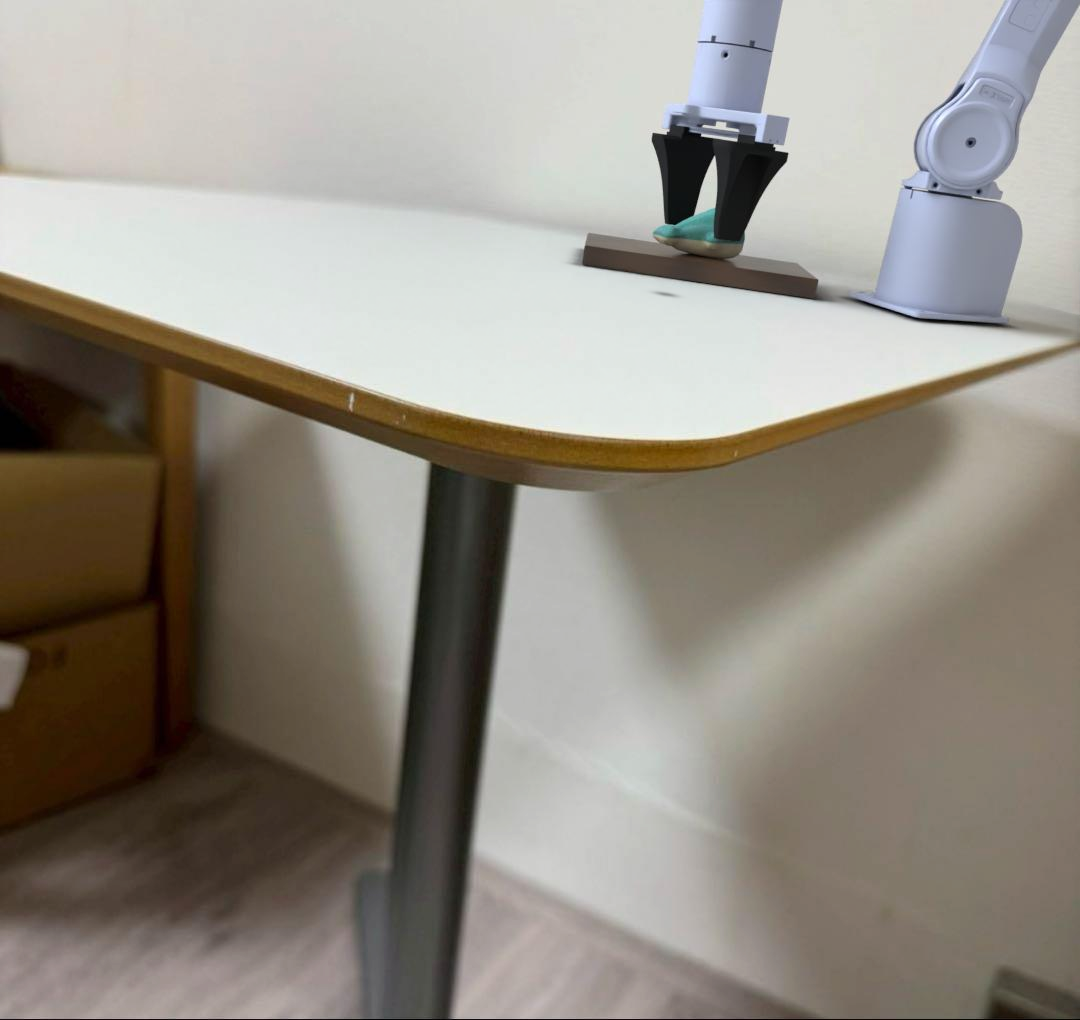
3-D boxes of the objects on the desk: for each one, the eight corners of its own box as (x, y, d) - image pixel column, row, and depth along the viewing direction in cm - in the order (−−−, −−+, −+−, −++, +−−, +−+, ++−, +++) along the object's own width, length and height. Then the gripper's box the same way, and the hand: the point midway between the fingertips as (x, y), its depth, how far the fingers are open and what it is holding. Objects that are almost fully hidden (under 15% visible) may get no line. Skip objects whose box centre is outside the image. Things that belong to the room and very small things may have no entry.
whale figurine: (753, 264, 83) (763, 215, 82) (667, 255, 81) (676, 205, 80) (722, 253, 89) (731, 206, 87) (641, 244, 87) (649, 196, 85)
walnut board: (793, 280, 90) (797, 263, 90) (814, 299, 81) (819, 279, 80) (585, 250, 90) (587, 232, 90) (581, 265, 81) (584, 245, 81)
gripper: (642, 40, 84) (615, 215, 89) (744, 40, 72) (707, 242, 77) (716, 53, 87) (686, 222, 92) (827, 55, 75) (785, 250, 80)
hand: (701, 232), depth 84 cm, fingers open, 7 cm apart
